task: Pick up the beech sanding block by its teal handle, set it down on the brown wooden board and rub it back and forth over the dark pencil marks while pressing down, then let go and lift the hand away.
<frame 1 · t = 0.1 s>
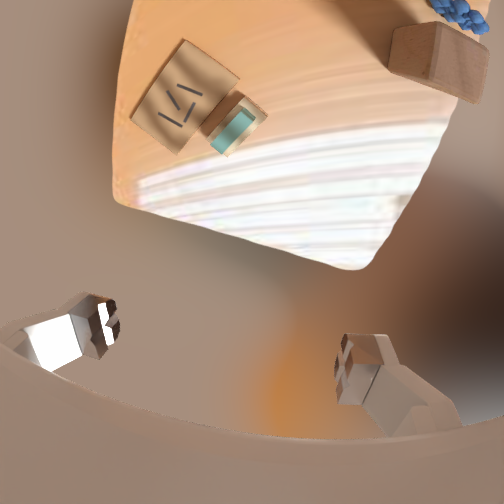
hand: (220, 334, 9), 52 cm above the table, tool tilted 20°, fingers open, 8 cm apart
wooden block: (411, 56, 38), on the table
grapes: (446, 12, 29), on the table
wooden board: (181, 98, 52), on the table
sanding block: (237, 125, 55), on the table
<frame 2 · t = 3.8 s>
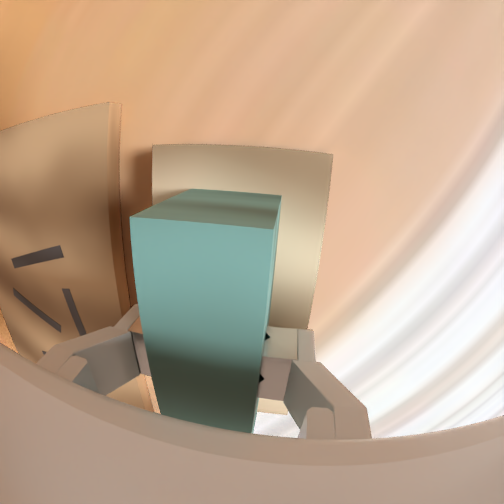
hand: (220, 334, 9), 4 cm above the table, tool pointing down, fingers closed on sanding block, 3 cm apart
wooden board: (49, 293, 15), on the table
sanding block: (241, 282, 13), on the table, touching gripper
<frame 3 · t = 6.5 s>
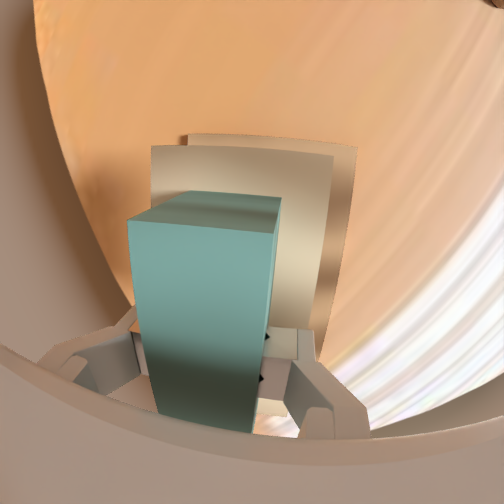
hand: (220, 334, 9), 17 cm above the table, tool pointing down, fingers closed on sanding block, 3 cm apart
wooden board: (262, 260, 26), on the table
sanding block: (240, 284, 13), point 13 cm above the table, touching gripper
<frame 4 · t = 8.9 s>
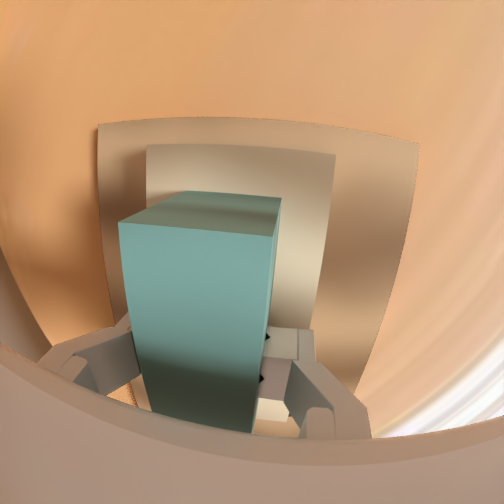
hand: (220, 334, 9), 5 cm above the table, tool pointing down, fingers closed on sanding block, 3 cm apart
wooden board: (237, 340, 15), on the table
sanding block: (239, 286, 13), point 1 cm above the table, touching gripper, wooden board
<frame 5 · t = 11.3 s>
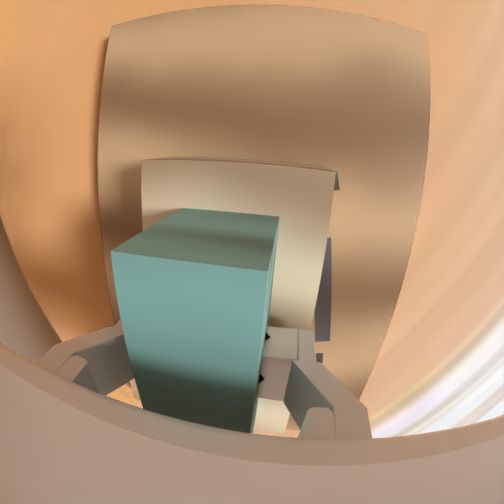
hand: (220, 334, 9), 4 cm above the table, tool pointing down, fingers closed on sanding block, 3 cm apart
wooden board: (246, 255, 13), on the table
sanding block: (237, 301, 12), point 1 cm above the table, touching gripper, wooden board
when the fingers open (5 cm above the table, at t = 15.1 s): sanding block stays where it is, resting on wooden board.
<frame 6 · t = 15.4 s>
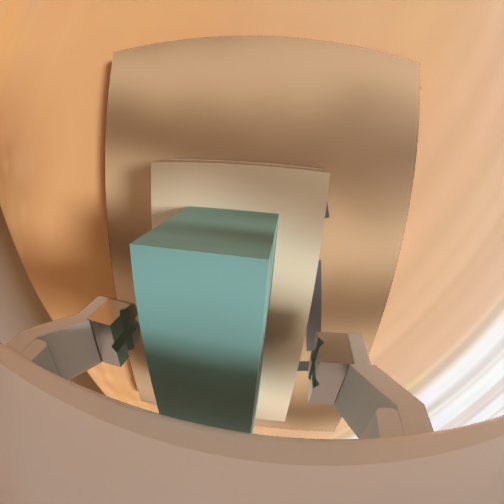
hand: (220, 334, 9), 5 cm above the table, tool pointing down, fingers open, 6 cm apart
wooden board: (244, 273, 14), on the table
sanding block: (239, 293, 13), point 1 cm above the table, touching wooden board
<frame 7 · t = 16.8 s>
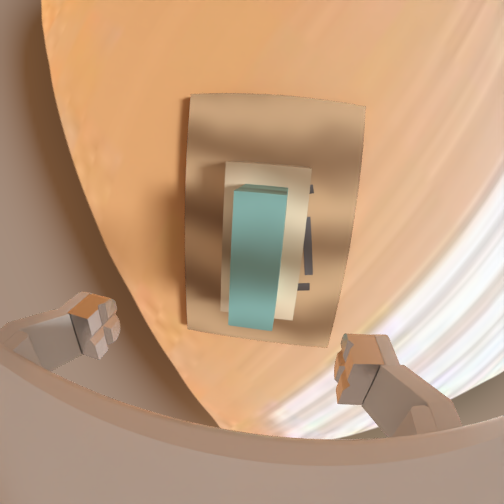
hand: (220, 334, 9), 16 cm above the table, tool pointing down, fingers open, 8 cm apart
wooden board: (267, 227, 24), on the table
sanding block: (265, 237, 23), point 1 cm above the table, touching wooden board
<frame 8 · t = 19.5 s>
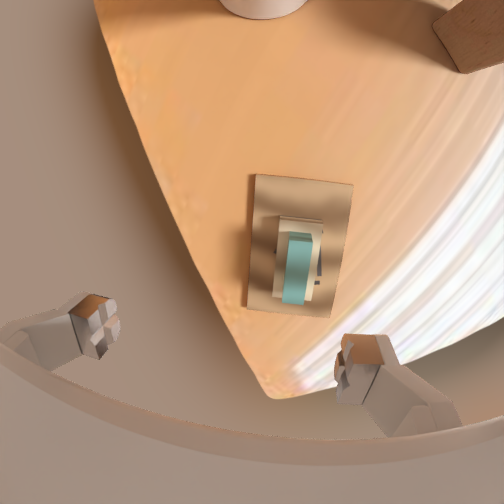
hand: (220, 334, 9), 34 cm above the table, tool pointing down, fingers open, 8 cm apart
wooden block: (461, 44, 27), on the table
wooden board: (297, 250, 44), on the table
sanding block: (296, 256, 43), point 1 cm above the table, touching wooden board
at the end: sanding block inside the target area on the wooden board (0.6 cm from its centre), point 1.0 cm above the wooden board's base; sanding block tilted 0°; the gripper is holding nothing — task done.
